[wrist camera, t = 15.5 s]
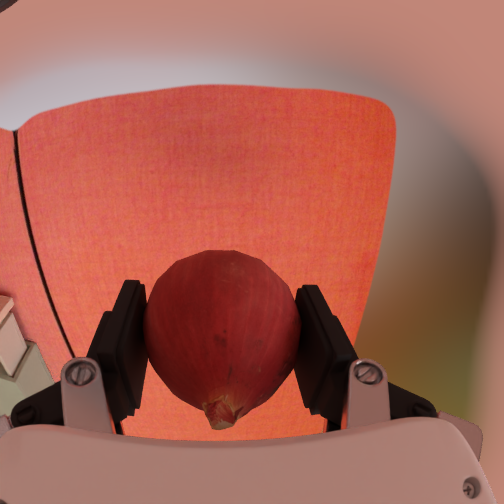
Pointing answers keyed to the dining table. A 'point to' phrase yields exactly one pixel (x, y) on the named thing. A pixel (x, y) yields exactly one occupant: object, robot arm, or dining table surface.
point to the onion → (222, 333)
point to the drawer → (10, 340)
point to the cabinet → (24, 380)
